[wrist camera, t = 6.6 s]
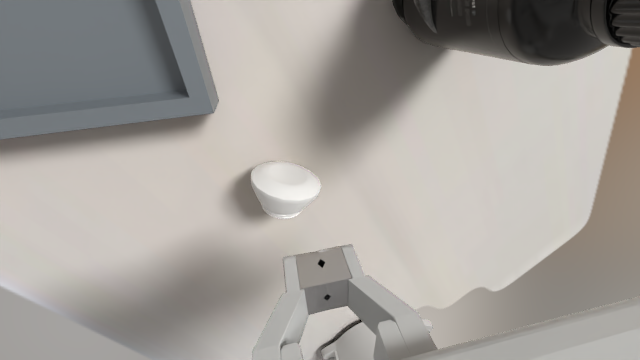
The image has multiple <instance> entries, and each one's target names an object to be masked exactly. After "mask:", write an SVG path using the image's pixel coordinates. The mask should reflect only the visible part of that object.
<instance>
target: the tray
mask: <svg viewBox="0 0 640 360" xmlns="http://www.w3.org/2000/svg"><path fill="white" fill-rule="evenodd" d="M218 102H219V99H218V96H217V92H216V89H215V85H214V82H213V78H212V75H211V71H210V68H209V64H208V61H207V57H206V54H205V50H204V47H203V43H202V40H201V36H200V33H199V29H198V26H197V23H196V19H195V16H194V12H193V9H192V5H191V2H190V0H0V139H8V138H16V137H24V136H32V135H40V134H49V133H57V132H65V131H73V130H81V129H89V128H97V127H105V126H113V125H121V124H129V123H137V122H145V121H154V120H162V119H170V118H178V117H186V116H194V115H202V114H210V113H214V111H215V109H216V107H217V104H218Z"/></svg>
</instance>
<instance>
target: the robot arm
mask: <svg viewBox="0 0 640 360" xmlns="http://www.w3.org/2000/svg"><path fill="white" fill-rule="evenodd" d="M283 265H284V276H285V287H286V293H283V294H282V295H281V297H280V299H279V301H278V303H277V305H276V307H275V309H274V311H273V313H272V315H271V316H270V318H269V320H268V322H267V324H266V326H265V328H264V330H263V332H262V334H261V336H260V337H259V339H258V341H257V343H256V345H255V347H254V349H253V351H252V360H303V355H302V351H301V346H300V345H299V342H300V339H301V337H302V334H303V331H304V328H305V325H306V322H307V319H308V315H310V314H314V313H317V312H321V311H325V310H329V309H334V308H339V307H344V306H348V307H349V308H350V309H351V310H352V311H353V312H354V313H355V314H356V315H357V316H358V317H359V319H360V320H361V321H362V322H361V323H359V324H357V325H355V326H354V327H352V328H351V329H349V330H348V331H346V332H345V333H344V334H343V335H342V336H341V337H340V338H339V339H338V340H336V341H335V342H334V343H332V344H330V345H328V346H327V347H325V348H324V349H322V351H321V353H322V357H323V359H324V360H640V296H638V297H634V298H630V299H626V300H623V301H619V302H615V303H611V304H608V305H604V306H601V307H596V308H593V309H589V310H585V311H582V312H578V313H574V314H570V315H566V316H563V317H559V318H555V319H551V320H547V321H543V322H540V323H536V324H532V325H529V326H525V327H521V328H517V329H513V330H510V331H506V332H502V333H498V334H494V335H491V336H487V337H484V338H480V339H476V340H472V341H468V342H464V343H461V344H457V345H453V346H449V347H446V348H442V349H437V347H436V345H435V344H434V342H433V340H432V338H431V336H430V334H429V333H430V331H431V330H432V329H433V325H432V323H431V321H430V320H427V319H421V317H420V315H419V313H418V312H417V311H416V310H414V309H413V308H412V307H410V306H409V305H408V304H406V303H405V302H404V301H402V300H401V299H400V298H398V297H397V296H396V295H394V294H393V293H392V292H390V291H389V290H388V289H386V288H385V287H384V286H382V285H381V284H380V283H379V282H377V281H376V280H375V279H373V278H372V277H371V276H369V275H366V276H365V274H364V271H363V269H362V266H361V264H360V261H359V259H358V257H357V254H356V252H355V249H354V247H353V245H352V244H349V245H344V246H338V247H333V248H328V249H323V250H319V251H316V252H310V253H304V254H298V255H296V257H295V255H293V256H287V257H283Z"/></svg>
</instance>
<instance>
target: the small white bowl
mask: <svg viewBox="0 0 640 360" xmlns="http://www.w3.org/2000/svg"><path fill="white" fill-rule="evenodd" d="M251 185H252V187H253V190H254V192H255V194H256V196H257V198H258V200H259V201H260V203H261V204H262V208H263V210H264V211H265V212H266V213H267V214H268V215H270V216H272V217H275V218H279V219H290V218H293V217H295V216H297V215H298V214H299V213H300V212H301V211H302V210H303V209H305V208H306V207H307V206H308V205H309V204H310V203H311V202H312V201H314V200H315V199H316V198H317V197H318V195H319V191H320V188H321V183H320V181H319V178H318V177H317V176H316V175H315V174H314V173H313V172H312V171H310V170H308V169H306V168H304V167H302V166H300V165H297V164H294V163H291V162H283V161H274V162H266V163H263V164H260V165H258V166H256V167H255V168H254V170H253V171H252V172H251Z"/></svg>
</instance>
